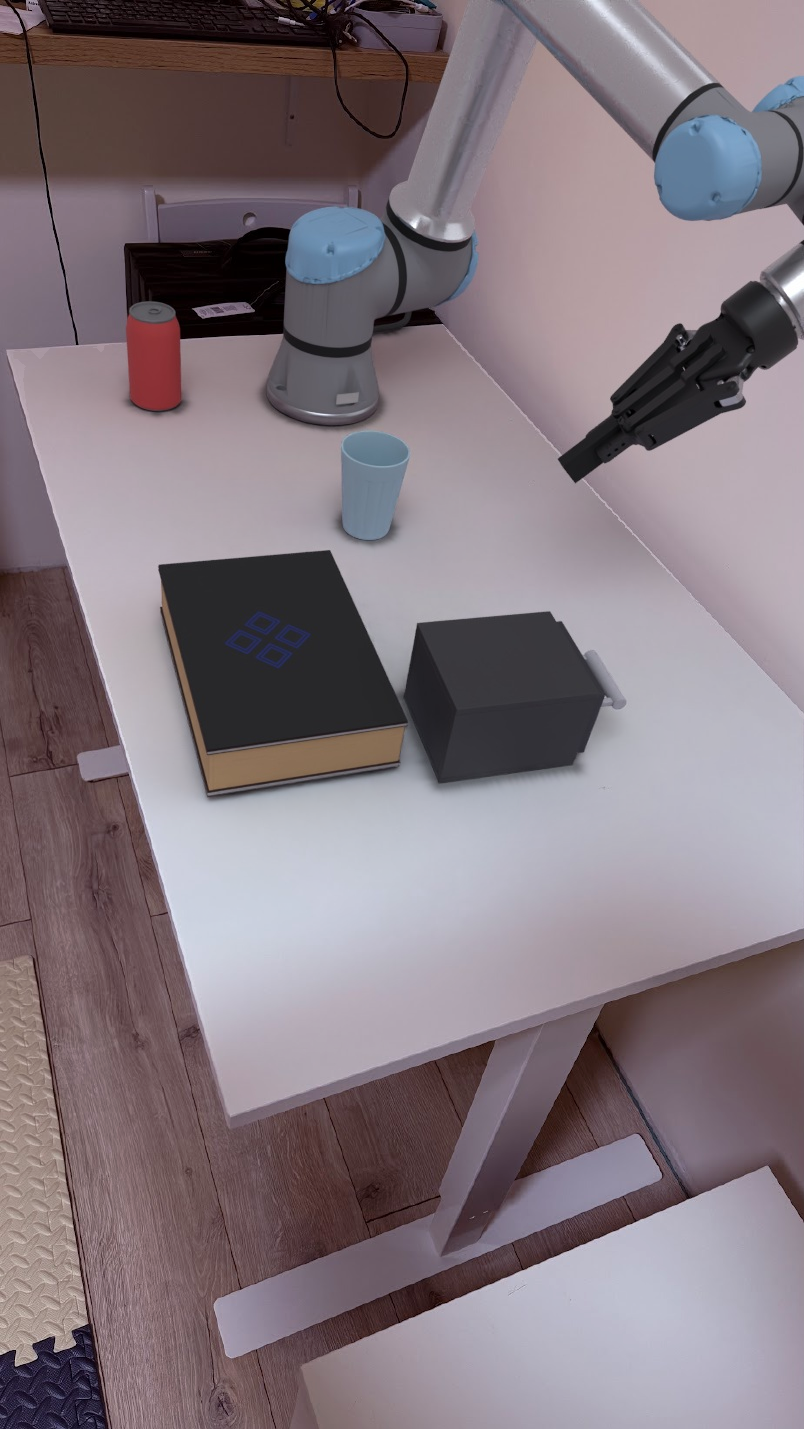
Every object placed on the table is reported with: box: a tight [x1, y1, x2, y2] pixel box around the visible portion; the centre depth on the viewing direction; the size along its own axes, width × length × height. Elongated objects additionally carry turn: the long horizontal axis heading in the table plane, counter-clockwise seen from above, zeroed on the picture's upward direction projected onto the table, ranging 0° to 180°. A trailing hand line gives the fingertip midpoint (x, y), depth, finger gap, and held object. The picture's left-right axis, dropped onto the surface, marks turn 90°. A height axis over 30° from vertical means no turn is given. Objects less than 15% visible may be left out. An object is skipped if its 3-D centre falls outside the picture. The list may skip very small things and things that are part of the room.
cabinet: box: [403, 610, 599, 784], centre depth 94 cm, size 13×11×9 cm
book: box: [157, 549, 409, 798], centre depth 95 cm, size 17×25×7 cm
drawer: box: [556, 620, 627, 754], centre depth 95 cm, size 16×10×8 cm, turn 107°
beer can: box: [125, 300, 182, 412], centre depth 128 cm, size 7×7×12 cm
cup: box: [340, 429, 411, 541], centre depth 115 cm, size 8×8×10 cm
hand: (566, 471), depth 100 cm, fingers closed
